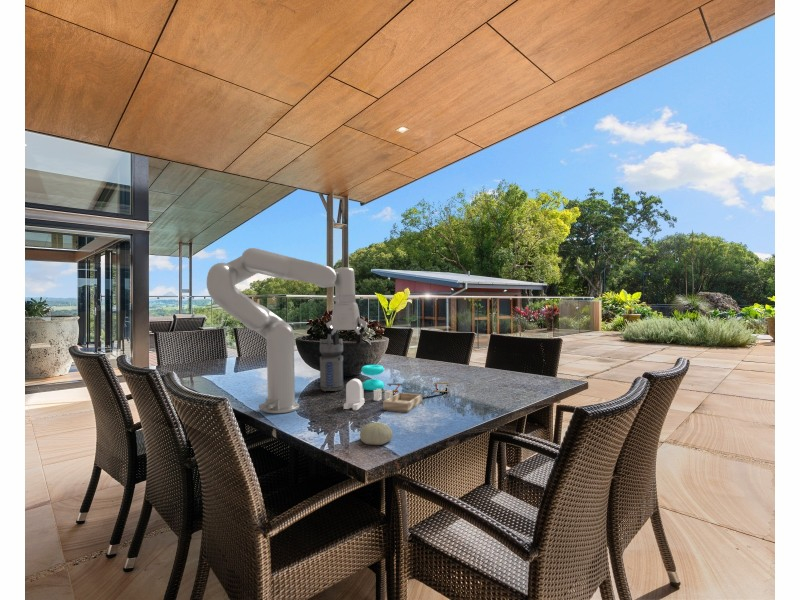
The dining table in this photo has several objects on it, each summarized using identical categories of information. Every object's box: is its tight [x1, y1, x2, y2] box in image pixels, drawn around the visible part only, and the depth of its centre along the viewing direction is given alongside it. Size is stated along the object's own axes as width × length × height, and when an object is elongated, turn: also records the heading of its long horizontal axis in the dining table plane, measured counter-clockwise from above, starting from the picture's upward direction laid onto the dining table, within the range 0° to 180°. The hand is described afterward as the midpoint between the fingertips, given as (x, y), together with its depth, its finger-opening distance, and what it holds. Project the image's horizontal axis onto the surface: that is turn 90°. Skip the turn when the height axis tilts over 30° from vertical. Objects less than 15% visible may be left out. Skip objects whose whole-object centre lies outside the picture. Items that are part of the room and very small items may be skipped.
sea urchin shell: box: [359, 421, 394, 446], centre depth 113 cm, size 9×8×8 cm
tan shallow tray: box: [382, 392, 423, 413], centre depth 150 cm, size 15×10×3 cm, turn 157°
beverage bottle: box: [319, 333, 345, 392], centre depth 179 cm, size 10×13×25 cm
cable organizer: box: [343, 378, 366, 411], centre depth 150 cm, size 5×10×10 cm, turn 168°
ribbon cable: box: [382, 382, 451, 399], centre depth 173 cm, size 29×1×30 cm
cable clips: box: [362, 388, 394, 402], centre depth 159 cm, size 5×14×4 cm, turn 67°
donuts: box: [361, 364, 385, 391], centre depth 180 cm, size 10×10×10 cm
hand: (347, 344), depth 155 cm, fingers open, 9 cm apart
